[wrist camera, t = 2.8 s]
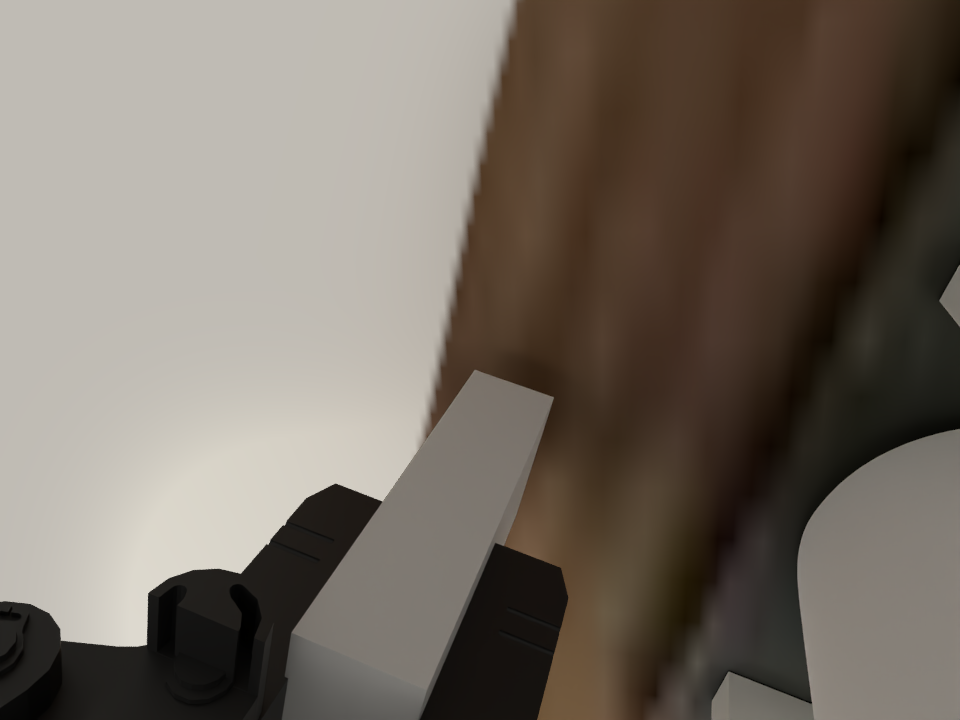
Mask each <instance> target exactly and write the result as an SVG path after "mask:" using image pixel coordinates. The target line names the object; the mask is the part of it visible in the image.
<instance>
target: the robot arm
mask: <svg viewBox="0 0 960 720" xmlns="http://www.w3.org/2000/svg"><path fill="white" fill-rule="evenodd" d="M553 399H554V397H551V396H549V395H546V394H543V393H540V392H537V391H534V390H531V389H529V388H526V387H523V386H520V385H517V384H514V383H511V382H509V381H506V380H503V379H500V378H497V377H494V376H491V375H488V374H486V373H483V372H480V371H477V370H474V372H473V373H472V375H471V376H470V377H469V379H468V380H467V382H466V383H465V385H464V386H463V387H462V389H461V390H460V392H459V393H458V395H457V396H456V398H455V399H454V400H453V402H452V403H451V405H450V406H449V408H448V409H447V410H446V412H445V413H444V415H443V416H442V418H441V419H440V420H439V422H438V423H437V425H436V426H435V428H434V429H433V430H432V432H431V433H430V435H429V436H428V438H427V439H426V441H425V442H424V443H423V445H422V446H421V448H420V449H419V451H418V452H417V453H416V455H415V456H414V458H413V459H412V461H411V462H410V463H409V465H408V466H407V468H406V469H405V471H404V472H403V473H402V475H401V476H400V478H399V479H398V481H397V482H396V484H395V485H394V487H393V488H392V489H391V491H390V492H389V494H388V495H387V496H386V498H385V499H384V501H383V502H382V501H380V500H377V499H374V498H372V497H369V496H367V495H364V494H361V493H359V492H356V491H354V490H351V489H348V488H346V487H343V486H341V485H338V484H334V485H332V486H330V487H328V488H326V489H324V490H322V491H320V492H318V493H316V494H314V495H312V496H310V497H308V498H306V499H305V500H304V502H303V503H302V504H301V505H300V506H299V507H298V509H297V510H296V511H295V512H294V513H293V514H292V516H291V517H290V518H289V519H288V520H287V522H286V525H285V526H282V527H281V528H280V529H279V531H278V532H277V533H276V534H275V535H274V536H273V538H272V539H271V541H270V543H269V545H266V546H265V547H264V548H263V549H262V550H261V551H260V553H259V554H258V555H257V556H256V557H255V558H254V559H253V561H252V562H251V563H250V564H249V565H248V566H247V568H246V569H245V570H244V571H243V572H242V573H241V574H239V573H235V572H230V571H226V570H222V569H208V570H207V569H206V570H192V571H190V572H187V573H184V574H181V575H178V576H175V577H172V578H169V579H167V580H166V581H165V582H163V583H162V584H160V585H159V586H158V587H156V588H155V589H153V590H152V591H150V592H149V593H148V627H147V628H148V629H147V645H145V646H139V647H115V646H106V645H96V644H87V643H76V642H67V641H61V637H60V628H59V627H58V625H57V624H56V623H55V621H54V620H53V618H52V617H51V616H50V614H49V613H47V612H45V611H43V610H41V609H39V608H37V607H35V606H33V605H31V604H25V603H15V602H6V601H4V602H0V720H537V718H538V714H539V710H540V706H541V702H542V698H543V695H544V691H545V687H546V683H547V679H548V675H549V671H550V667H551V664H552V660H553V655H554V652H555V648H556V644H557V640H558V636H559V631H560V628H561V625H562V621H563V617H564V613H565V609H566V606H567V602H568V595H567V591H566V587H565V583H564V579H563V575H562V571H561V568H560V567H557V566H554V565H552V564H549V563H547V562H544V561H541V560H539V559H536V558H534V557H531V556H528V555H526V554H523V553H521V552H518V551H515V550H513V549H510V548H508V547H505V546H504V544H505V542H506V539H507V537H508V534H509V532H510V529H511V527H512V524H513V522H514V520H515V517H516V514H517V511H518V508H519V505H520V502H521V499H522V496H523V493H524V490H525V486H526V483H527V480H528V477H529V474H530V471H531V468H532V465H533V462H534V458H535V455H536V452H537V449H538V446H539V443H540V440H541V437H542V434H543V431H544V427H545V424H546V421H547V418H548V415H549V412H550V409H551V406H552V403H553Z"/></svg>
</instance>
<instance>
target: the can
mask: <svg viewBox="0 0 960 720" xmlns="http://www.w3.org/2000/svg"><path fill="white" fill-rule="evenodd" d="M797 580H798V593H799V603H800V612H801V620H802V628H803V636H804V645H805V653H806V660H807V668H808V676H809V683H810V691H811V699H812V707H813V714H814V720H960V429H956V430H951V431H946V432H942V433H938V434H934V435H931V436H927V437H924V438H921V439H918V440H915V441H912V442H909V443H906V444H904V445H902V446H899V447H897V448H895V449H892V450H890V451H888V452H886V453H884V454H882V455H880V456H878V457H877V458H875V459H873V460H871V461H870V462H868V463H867V464H865V465H863V466H862V467H860V468H859V469H858V470H856V471H855V472H853V473H852V474H851V475H850V476H848V477H847V478H846V479H845V480H843V481H842V482H841V483H840V484H839V485H838V486H837V487H836V488H835V489H834V490H833V491H832V492H831V493H830V494H829V495H828V496H827V497H826V498H825V500H824V501H823V502H822V503H821V504H820V505H819V507H818V508H817V509H816V511H815V512H814V513H813V515H812V516H811V518H810V520H809V521H808V523H807V525H806V528H805V530H804V532H803V535H802V539H801V542H800V547H799V552H798V563H797Z"/></svg>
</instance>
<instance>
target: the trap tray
mask: <svg viewBox="0 0 960 720" xmlns="http://www.w3.org/2000/svg"><path fill="white" fill-rule="evenodd" d="M939 301H940V303H941V304H942V305H943V306H944V308H945V309H946V310H947V311H948V313H949V314H950V315H951V316H952V318H953V319H954V320H955V322H956V323H957V324H958V325H959V327H960V265H959V267H958V268H957V270H956V272H955V274H954V275H953V277H952V279H951V281H950V282H949V284H948V286H947V288H946V289H945V291H944V293H943V295H942V297H941V298H940V300H939ZM712 720H814V714H813V707H812V704H810V703H807V702H805V701H802V700H800V699H797V698H795V697H792V696H790V695H787V694H785V693H782V692H780V691H777V690H774V689H772V688H769V687H767V686H764V685H762V684H759V683H757V682H754V681H752V680H749V679H747V678H744V677H741V676H739V675H736V674H734V673H731V672H728V673H727V675H726V677H725V679H724V680H723V682H722V684H721V686H720V687H719V689H718V691H717V693H716V695H715V696H714V698H713V700H712Z"/></svg>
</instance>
